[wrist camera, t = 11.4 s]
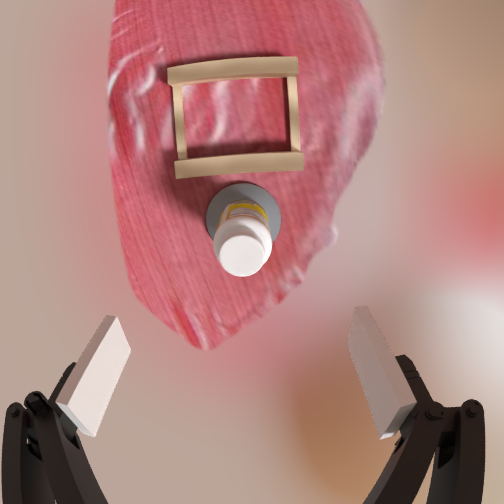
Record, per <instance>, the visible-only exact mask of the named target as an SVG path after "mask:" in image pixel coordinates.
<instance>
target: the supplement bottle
mask: <svg viewBox="0 0 504 504" xmlns="http://www.w3.org/2000/svg"><path fill="white" fill-rule="evenodd" d="M213 248H214V253H215V255H216V257H217V259H218V260H219V261H220V263H221V265H222V266H223V268H224V269H225V270H226V271H227V272H229V273H230V274H232V275H235V276H241V277H242V276H249V275H252V274H254V273H256V272H257V271H258V270H259V269H260V268H261V267H262V265H263V264H264V263H265V262H266V261H267V259H268V258H269V256H270V253H271V250H272V239H271V234H270V229H269V224H268V219H267V215H266V213H265V211H264V209H263V208H262V207H261V206H260V205H259V204H258V203H256V202H254V201H252V200H248V199H240V200H236V201H233V202H232V203H230V204H229V205H228V206H227V207H226V208H225V209H224V211H223V212H222V215H221V218H220V221H219V224H218V227H217V230H216V233H215V236H214V241H213Z"/></svg>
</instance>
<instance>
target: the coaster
mask: <svg viewBox="0 0 504 504" xmlns="http://www.w3.org/2000/svg"><path fill="white" fill-rule="evenodd" d="M240 199H248V200H252V201H254V202H256V203H258V204H259V205H260V206H261V207H262V208H263V209H264V211H265V213H266V215H267V219H268V224H269V229H270V234H271V239H272V242H273V241H274V240H275V238H276V237H277V235H278V233H279V229H280V225H281V214H280V210H279V207H278V204H277V202H276V201H275V199H274V198H273V196H272V195H271V194H270V193H269V192H268V191H266V190H265V189H263V188H262V187H260V186H257V185H254V184H250V183H237V184H233V185H230V186H227V187H225V188H224V189H222V190H221V191H219V192H218V193H217V194H216V195H215V196H214V198H213V199H212V201H211V202H210V204H209V207H208V209H207V214H206V225H207V229H208V232H209V234H210V236H211V238H212V239H213V241H214V236H215V233H216V230H217V227H218V224H219V221H220V218H221V215H222V212H223V211H224V209H225V208H226V207H227V206H228V205H229V204H230V203H232V202H233V201H236V200H240Z"/></svg>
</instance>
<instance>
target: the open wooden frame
mask: <svg viewBox="0 0 504 504" xmlns="http://www.w3.org/2000/svg"><path fill="white" fill-rule="evenodd" d="M298 73H299V70H298V58H297V57H250V58H235V59H224V60H215V61H207V62H199V63H193V64H186V65H181V66H175V67H170V68H167V74H168V84H169V85H171V86H172V87H173V101H174V116H175V129H176V140H177V151H178V160H177V161H174V166H175V175H176V179H181V178H190V177H200V176H211V175H222V174H236V173H251V172H270V171H300V170H304V160H303V152H301V151H300V132H299V113H298V97H297V82H296V76H297V75H298ZM251 78H287V90H288V105H289V122H290V142H291V151H281V152H257V153H241V154H228V155H216V156H206V157H196V158H188V155H187V144H186V133H185V120H184V106H183V90H182V86H186V85H192V84H199V83H207V82H215V81H225V80H236V79H251Z"/></svg>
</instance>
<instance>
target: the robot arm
mask: <svg viewBox="0 0 504 504" xmlns="http://www.w3.org/2000/svg"><path fill="white" fill-rule="evenodd" d="M347 346H348V349H349V351H350V354H351V356H352V359H353V362H354V365H355V367H356V370H357V373H358V376H359V379H360V381H361V384H362V387H363V390H364V393H365V395H366V398H367V401H368V404H369V407H370V410H371V413H372V416H373V419H374V422H375V426H376V429H377V432H378V435H379V438H380V439H383V438H386V437H390V436H393V435H395V434H396V433H397V431H398V430H400V433H401V437H400V438H399V440H398V441H397V442H396V443H395V445H396V447H395V449H394V451H393V453H392V455H391V457H390V459H389V461H388V462H387V464H386V466H385V468H384V470H383V472H382V473H381V475H380V477H379V479H378V480H377V482H376V484H375V485H374V487H373V489H372V490H371V492H370V493H369V495H368V497H367V498H366V500H365V501H364V503H363V504H412V502H413V500H414V498H415V497H416V495H417V493H418V490H419V488H420V486H421V484H422V482H423V479H424V477H425V475H426V473H427V470H428V468H429V465H430V463H431V460H432V458H433V455H434V453H435V457H434V464H433V471H432V477H431V484H430V488H429V493H428V498H427V503H426V504H481V502H482V494H483V485H484V472H485V421H484V410H483V406H482V405H481V404H480V403H479V402H478V401H477V400H473V399H470V400H467V401H465V402H464V403H463V404H462V406H461V407H448V408H447V407H443V406H442V405H441V404H440V403H438V402H434V401H433V400H432V398H431V396H430V394H429V392H428V390H427V389H426V386H425V384H424V382H423V380H422V379H421V377H420V375H419V373H418V371H416V367H415V366H414V364H413V362H412V361H411V360H410V359H409V358H408V357H407V356H405V355H400V356H396V357H395V356H394V354H393V352H392V351H391V349H390V347H389V345H388V343H387V341H386V339H385V337H384V336H383V334H382V332H381V330H380V328H379V326H378V325H377V323H376V321H375V319H374V318H373V316H372V314H371V312H370V310H369V309H368V307H367V306H360V307H354V309H353V315H352V321H351V326H350V331H349V337H348V341H347ZM130 352H131V349H130V347H129V345H128V342H127V340H126V337H125V335H124V332H123V330H122V328H121V325H120V322H119V320H118V317H117V316H106V317H105V318H104V320H103V321H102V323H101V324H100V326H99V328H98V329H97V331H96V332H95V334H94V335H93V337H92V339H91V340H90V342H89V343H88V345H87V347H86V348H85V350H84V352H83V353H82V355H81V357H80V358H79V360H78V362H77V363H75V362H73V363H72V364H71V365H70V366H68V367H67V369H66V370H65V372H64V373H63V377H61V379H60V380H59V382H58V384H57V386H56V387H55V389H54V391H53V393H52V395H51V396H50V398H49V400H47V399H46V397H45V396H44V395H43V394H42V393H41V392H39V391H34V392H32V393H30V394H28V396H27V397H26V398H25V401H24V405H25V407H26V408H27V409H25V408H24V407H23V406H22V405H21V404H20V403H17V402H15V403H13V404H11V405H10V406H9V407H8V408H7V411H6V417H5V425H4V434H3V445H2V499H3V504H55V500H56V503H57V504H108V502H107V500H106V499H105V497H104V495H103V493H102V491H101V489H100V487H99V485H98V482H97V480H96V478H95V476H94V474H93V471H92V469H91V467H90V464H89V462H88V460H87V457H86V455H85V452H84V450H83V447H82V444H81V441H80V439H79V436H78V435H77V433H76V431H77V428H78V429H79V430H80V431H81V432H82V433H83V434H85V435H89V436H92V437H95V436H96V434H97V431H98V428H99V426H100V423H101V421H102V418H103V416H104V413H105V410H106V407H107V406H108V403H109V400H110V398H111V395H112V393H113V391H114V389H115V386H116V384H117V382H118V379H119V377H120V375H121V372H122V370H123V368H124V366H125V363H126V361H127V359H128V357H129V354H130ZM27 439H28V444H27Z"/></svg>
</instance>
